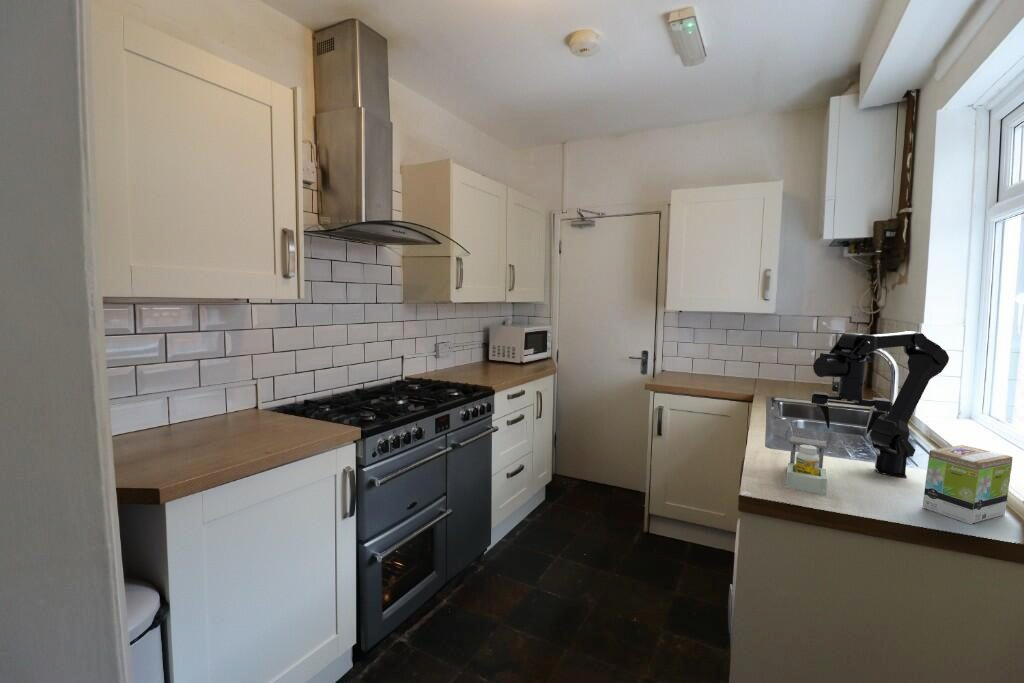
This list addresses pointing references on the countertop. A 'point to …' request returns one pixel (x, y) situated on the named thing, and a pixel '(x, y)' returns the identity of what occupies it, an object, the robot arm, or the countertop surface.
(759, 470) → the countertop surface
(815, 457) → the supplement bottle
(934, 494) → the tea box
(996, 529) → the countertop surface
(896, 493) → the countertop surface
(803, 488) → the socket block
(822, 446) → the grey frame
